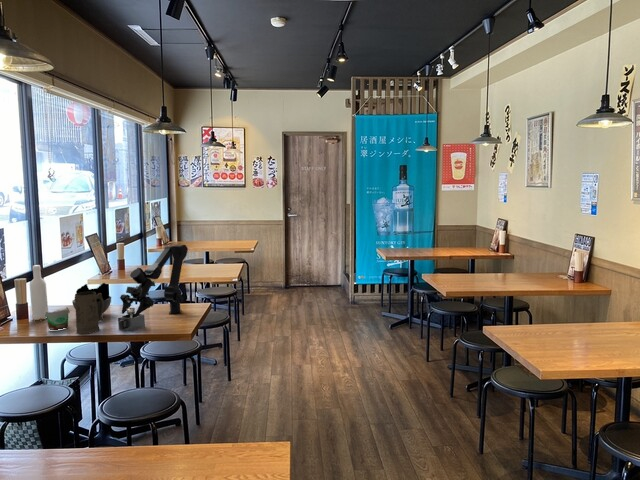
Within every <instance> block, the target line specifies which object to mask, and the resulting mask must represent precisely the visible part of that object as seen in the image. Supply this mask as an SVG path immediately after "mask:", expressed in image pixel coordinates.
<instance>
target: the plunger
mask: <svg viewBox="0 0 640 480" xmlns="http://www.w3.org/2000/svg"><path fill="white" fill-rule="evenodd" d="M134 313H136V308H135V307H129V308H127V311H126V314H130V318H133V316H132V314H134Z"/></svg>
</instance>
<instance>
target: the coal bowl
mask: <svg viewBox="0 0 640 480" xmlns="http://www.w3.org/2000/svg"><path fill="white" fill-rule="evenodd" d="M88 285H89V284H87V283H85V284H84V285H82V286H80V287H79V288H77V290H76V292H75V294H76V293H81V292H95V293H96V295H98V294H99V293H102V298H103V301H104V310H103V313H102V315H103V314H104V313H106V311H108V309H109V308H110V306H111V303H112V296H111V295H109V285H108V284H107V283H105V282H103V283H102V284H100V285H98V286H97V287H96V288H89V286H88ZM96 300H97V305H98V315H99V310H100V302H99V299H96ZM71 303H72V306H73V308H74V309H75V307H76V303H75V298H74V299H72V302H71Z"/></svg>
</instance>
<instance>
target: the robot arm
mask: <svg viewBox="0 0 640 480" xmlns="http://www.w3.org/2000/svg"><path fill="white" fill-rule="evenodd" d="M188 250H189V249H188V247H187V245H186V244H178V243H177V244H173V245H165V246H164V249H163V250H162V252H161V253H160V255H158V257H157V258H156V260H155V261H154V262H153V264H151V265H148V267H147V268H145V270H143V268H142V267H137V268H135V269H134V270H133V271H131V272H130V274H129V275H130V278H131V279H132V280H133V281H134V282H135V283H136V284H137V285H136V287H134V286H127V287H126V291H125V293H124V294H123V293H122V294H121V295H120V297H119V299H120V301H121V302H122V308H121V314H122V315H125V313H127V308H131V307H132V304H133V302H134V303H135V302H136V303H139V306H138V308H137V309H136V310H135V313H136V314H135V315H136V316H137V315H139V314H142V313H143V312H144V311H146V310H147V309H151V307H152V308H153V306H154V304H155V301H154V300H153V299H152V298H151V297H150V296H149V294H150V293H149V291H150V289H151V288H152V287H156V283H155V280H158V279H159V278H160V276H161V275H162V272H163V267H164V266H165V265H166V264H167V262H168V261H169V259H170V258H171V257H172V259H173V261H172V267H171V273H170V278H169V284H168V286H165V287H164V291H163V297H164V299H165V302H166V303H169V312H168V314H169V315H177V314H182V308H181V304H182V303H184V300H185V298H184V297H183V296H182V294H181V288H180V285H179V283H180V279H181V278H180V277H181V272H182V267H183V261H184V259H185V258H186V257H187V255H188V252H189V251H188Z"/></svg>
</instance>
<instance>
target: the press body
mask: <svg viewBox="0 0 640 480" xmlns="http://www.w3.org/2000/svg"><path fill="white" fill-rule="evenodd" d="M135 314H136V312H135V313H134V314H132V316H133V318H130V314H127V313H126V314H122V315H121V316H118V317H117V322H118V323H117V324H118V331H126V332H135V331H138V330H139V329H144V328H145V327H146V319H145V314H143V313H140V314H139V315H137V316H136V315H135Z"/></svg>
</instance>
